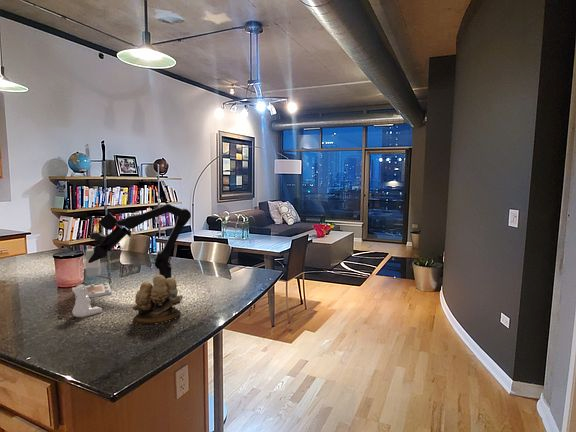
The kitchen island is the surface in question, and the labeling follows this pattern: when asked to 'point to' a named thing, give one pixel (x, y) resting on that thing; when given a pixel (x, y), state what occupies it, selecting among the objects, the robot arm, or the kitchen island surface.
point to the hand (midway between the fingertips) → (89, 261)
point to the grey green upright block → (92, 264)
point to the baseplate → (97, 290)
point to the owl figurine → (157, 301)
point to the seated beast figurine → (83, 303)
